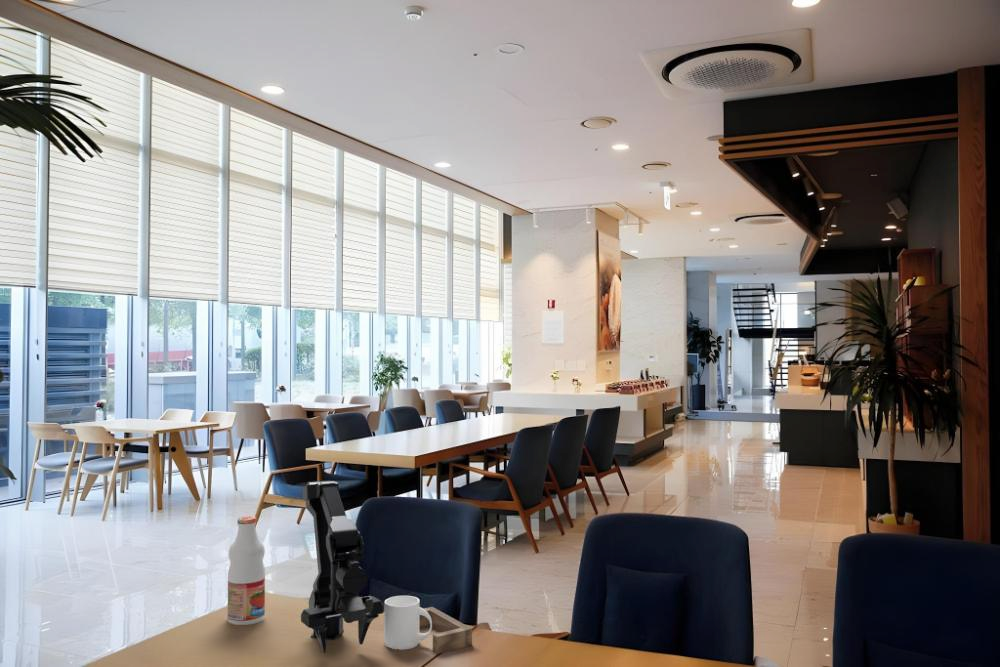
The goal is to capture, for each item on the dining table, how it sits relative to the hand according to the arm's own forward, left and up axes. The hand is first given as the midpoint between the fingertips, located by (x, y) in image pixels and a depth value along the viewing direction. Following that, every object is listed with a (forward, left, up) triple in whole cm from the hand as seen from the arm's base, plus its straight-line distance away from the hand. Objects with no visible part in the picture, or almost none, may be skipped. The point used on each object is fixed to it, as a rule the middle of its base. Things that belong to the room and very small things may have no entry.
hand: (342, 648), depth 183 cm
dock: (+18, +18, -2) cm, 25 cm away
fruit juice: (-34, +17, -3) cm, 38 cm away
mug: (+13, +11, -3) cm, 17 cm away
